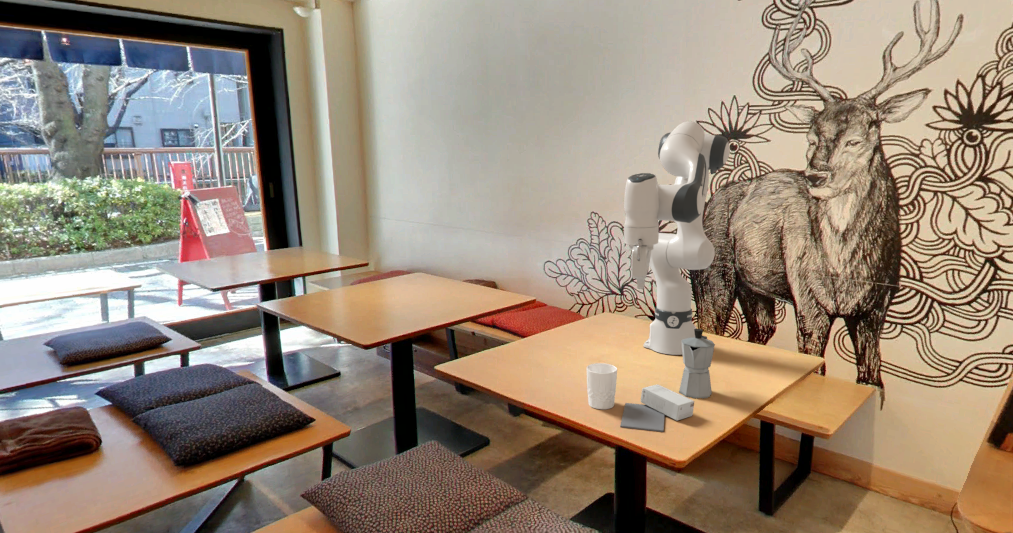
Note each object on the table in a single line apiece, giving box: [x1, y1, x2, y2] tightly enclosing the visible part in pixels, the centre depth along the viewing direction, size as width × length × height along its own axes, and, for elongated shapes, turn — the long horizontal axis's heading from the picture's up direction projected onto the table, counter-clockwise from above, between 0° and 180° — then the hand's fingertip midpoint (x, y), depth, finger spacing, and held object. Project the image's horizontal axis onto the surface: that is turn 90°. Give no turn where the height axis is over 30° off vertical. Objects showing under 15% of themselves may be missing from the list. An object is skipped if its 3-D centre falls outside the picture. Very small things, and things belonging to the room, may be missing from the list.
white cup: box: [586, 362, 618, 410], centre depth 153 cm, size 8×8×10 cm
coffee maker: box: [678, 328, 716, 400], centre depth 160 cm, size 15×9×18 cm, turn 151°
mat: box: [619, 402, 666, 433], centre depth 146 cm, size 14×10×1 cm
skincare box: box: [640, 384, 695, 421], centre depth 149 cm, size 6×4×12 cm
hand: (640, 287), depth 157 cm, fingers closed
